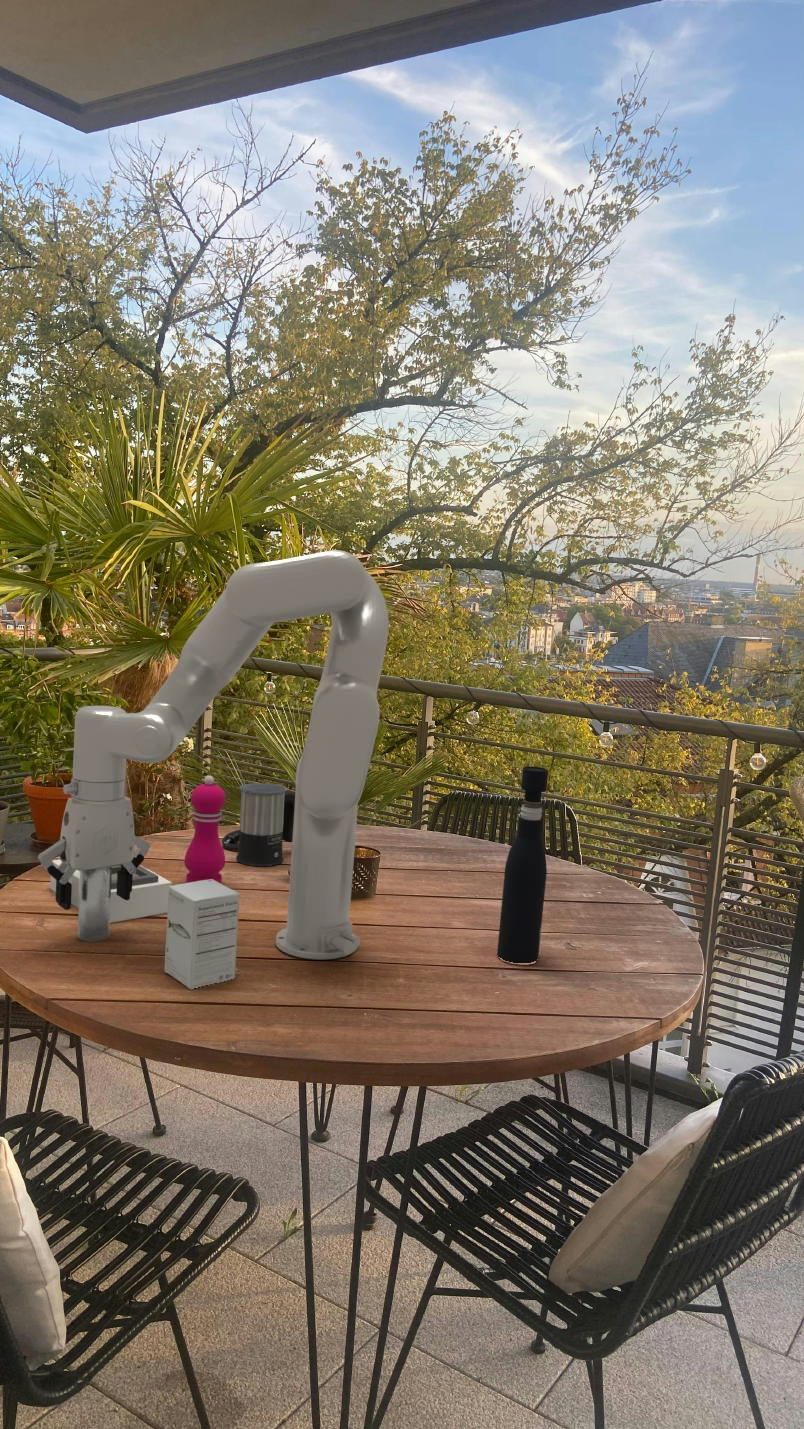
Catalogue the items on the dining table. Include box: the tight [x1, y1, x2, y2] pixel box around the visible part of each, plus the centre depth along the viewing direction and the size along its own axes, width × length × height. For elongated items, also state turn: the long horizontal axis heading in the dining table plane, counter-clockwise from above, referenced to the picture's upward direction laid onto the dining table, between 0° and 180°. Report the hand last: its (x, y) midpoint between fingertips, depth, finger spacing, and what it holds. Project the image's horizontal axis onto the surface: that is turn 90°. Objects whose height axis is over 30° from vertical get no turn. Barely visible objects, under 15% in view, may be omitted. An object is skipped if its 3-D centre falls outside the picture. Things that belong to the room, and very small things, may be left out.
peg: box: [77, 866, 112, 943], centre depth 146 cm, size 4×4×12 cm
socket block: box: [49, 858, 173, 924], centre depth 162 cm, size 20×12×12 cm, turn 42°
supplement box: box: [164, 879, 241, 990], centre depth 135 cm, size 7×7×13 cm
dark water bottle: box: [496, 765, 549, 963], centre depth 150 cm, size 6×6×30 cm
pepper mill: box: [183, 775, 226, 884], centre depth 174 cm, size 7×7×20 cm
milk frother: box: [221, 782, 295, 867], centre depth 195 cm, size 14×16×15 cm
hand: (94, 902), depth 146 cm, fingers open, 8 cm apart
